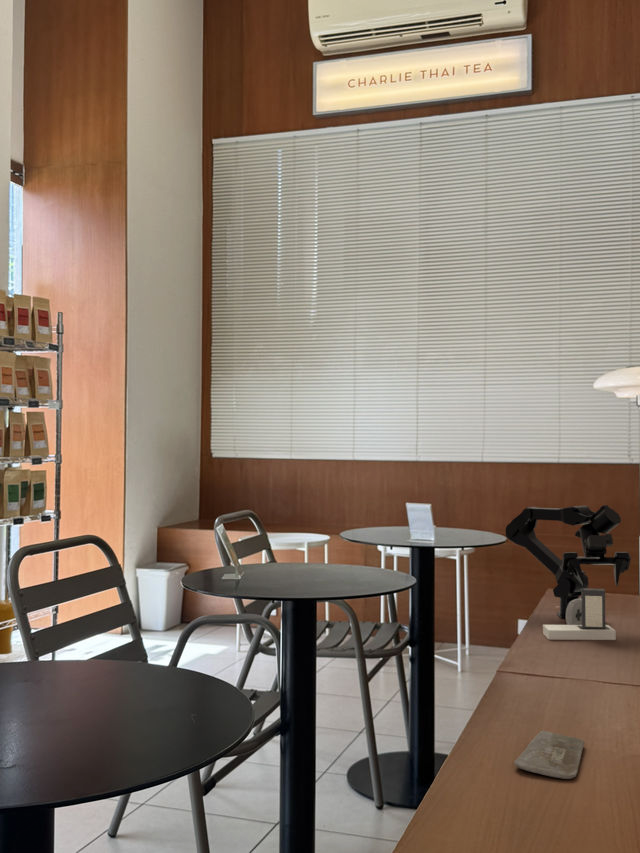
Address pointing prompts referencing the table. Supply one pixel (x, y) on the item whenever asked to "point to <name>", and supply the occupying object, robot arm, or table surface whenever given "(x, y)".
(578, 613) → the game controller
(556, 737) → the stone
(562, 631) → the recessed rectangular block
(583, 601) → the charcoal grey box
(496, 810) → the table surface
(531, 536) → the robot arm
